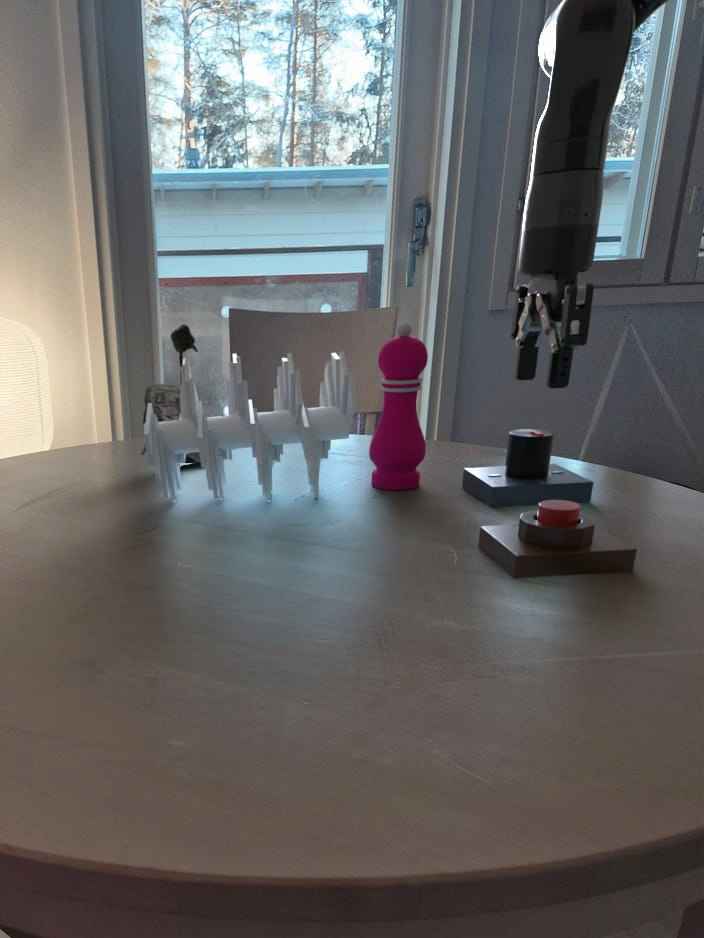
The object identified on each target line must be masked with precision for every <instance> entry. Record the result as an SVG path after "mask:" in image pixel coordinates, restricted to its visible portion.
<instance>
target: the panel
mask: <svg viewBox="0 0 704 938" xmlns="http://www.w3.org/2000/svg"><path fill="white" fill-rule="evenodd" d="M504 472H505V465H503V466H481V467H464V468H463V473H462V474H463V476H462V484H461V488H463V489H464V490H465V491H466V492H467V493H469V494H471V495H472V496H474V497H475V498H476V499H477V500H479V501H481V502H482V503H483V504H485V505H486V506H488V507H489V508H490V509H491V508H492V509H493V508H510V507H529V506H530V507H531V506H532V507H533V506H539V503H540V502H542V501H546V500H565V501H571V502H575V503H577V504H586V503H587V504H588V503H589V504H590V503H591V501H592V495H593V490H594V481H593V480H590V479H588V478H586V477H584V476H582V475H580V474H578V473H575V472H573V471H571V470H569V469H567V468H565V467H563V466H561V465H559V464H557V463H550V464H549V471H548V476H547V477H544V478H539V479H520V478H513V477H509V476H507V475H505V474H504Z"/></svg>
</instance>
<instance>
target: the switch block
mask: <svg viewBox="0 0 704 938" xmlns="http://www.w3.org/2000/svg"><path fill="white" fill-rule="evenodd" d="M537 513H538V509H532V510H529V511H525V512H522V513H521V515H520V517H519V519H518V524H502V525H483V526H482V525H481V526H480V527H479V535H478V544H477V547H478V548H479V549H480V551H482V552H483V553H484V554H485V555H486V556H488V557H489V558H490V559H491V560H492V561H493V562H494V563H496V565H498V566H499V567H500V568H501V569H502V570H504V571H505V572H506V573H507V574H508V575H509V576H510V577H512V578H513V579H526V578H542V577H562V576H581V575H597V574H598V575H600V574H614V573H616V574H618V573H632V572H633V570H634V565H635V561H636V556H637V552H638V551H637V550H638V549H637V548H635V547H634V546H632V545H630V544H628V543H627V542H625V541H624V540H622V539H620V538H618V537H616V536H615V535H613V534H611V533H610V532H608V531H606V530H604V529H602V528H601V527H599V526H597V525H596V522H597V519H595V518H593V517H592V516H590V515H588V514H586V513H582V512H580V514H579V520H578V524H576V525H563V526H561V525H550V524H545V523H542V522H538V521H536V520H537Z"/></svg>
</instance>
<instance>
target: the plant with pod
mask: <svg viewBox="0 0 704 938" xmlns="http://www.w3.org/2000/svg"><path fill="white" fill-rule="evenodd" d="M170 340H171V342H172V343H173V347H174V350H175V351H176V352H177V353H179V354H178V355H179V357H178V360H179V378H180V379H179V381H180V386H181V385H182V382H181V369H180V367H181V366H182V364H183V359H184V356H183V355H184V353H185V352H187V351H189V350H193V351H194V352H195V353H197V352H198V351H199V350H198V348H197V346H196V345H195V343H196V339H195V337H194V335H193V333H192V331H191V329H190V327H189V326H188V325H187V324H185V323H184V324H181V325H180V326H178V327H177V328H175V329H174V330H173V331H172V332H171V333H170ZM180 386H175V385H170V384H164V383H153V384H149V385H148V386H147V387H146V388H145V393H144V405H145V406H144V407H145V408H144V411H143V420H142V425H143V426H144V424H145V423H146V414H147V406H148V403H152V407H153V414H156V416H157V420H158V422H164V421H175V420H179V419H180V414H181V402H180ZM146 452H147V451H146V446H145V444H144V445H143V448H142V450H141V452H140V456H143V455H145V453H146ZM185 463H194V464H196V463H201V459H200V452H192V453H189V454H186V458H185Z"/></svg>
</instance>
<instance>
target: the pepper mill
mask: <svg viewBox="0 0 704 938" xmlns="http://www.w3.org/2000/svg"><path fill="white" fill-rule="evenodd" d="M412 332H413V327H412V325H411V324H410V323H408V322H401V323H400V324H398V326H397V328H396V333H397V335H398V336H395V337H393V338H391V339H389V340H387V341H385V343H384V344H383V345H382V346H381V348H380V350H379V353H378V359H377V363H378V364H377V365H378V368H379V370H380V371H381V373H382V374H383V378H381V380H380V382H381V387H380V390H381V391H382V392H383V406H382V407H383V408H382V413H381V415H380V420H379V422H378V425H377V426H376V429H375V431H374V433H373V435H372V438H371V440H370V444H369V449H368V457H369V460H370V461H371V463H373V465H374V466H375V467H376V468H375V469H373V470H372V472H371V482H370V483H371V484H370V485H372V487H374V488H376V489H380V490H386V491H406V490H407V491H408V490H412V489H416V488H418V487H419V485H420V481H421V480H420V478H421V471H419V470H418V469H417V468H418V467H419V465H420V464H421V463H422V462H423V460H424V459H425V457H426V441H425V436H424V433H423V429H422V427H421V425H420V422H419V417H418V412H417V399H418V392H419V391H420V390H422V386H421V385H422V383H421V382H423V378H421V377H420V376H421V374H422V372H423V371H424V370H425V369H426V367H427V365H428V360H429V358H428V357H429V353H428V350H427V346H426V345H425V343H424V342H423V341H422V340H421V339H419V338H417V337H415V336H411V334H412Z"/></svg>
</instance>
